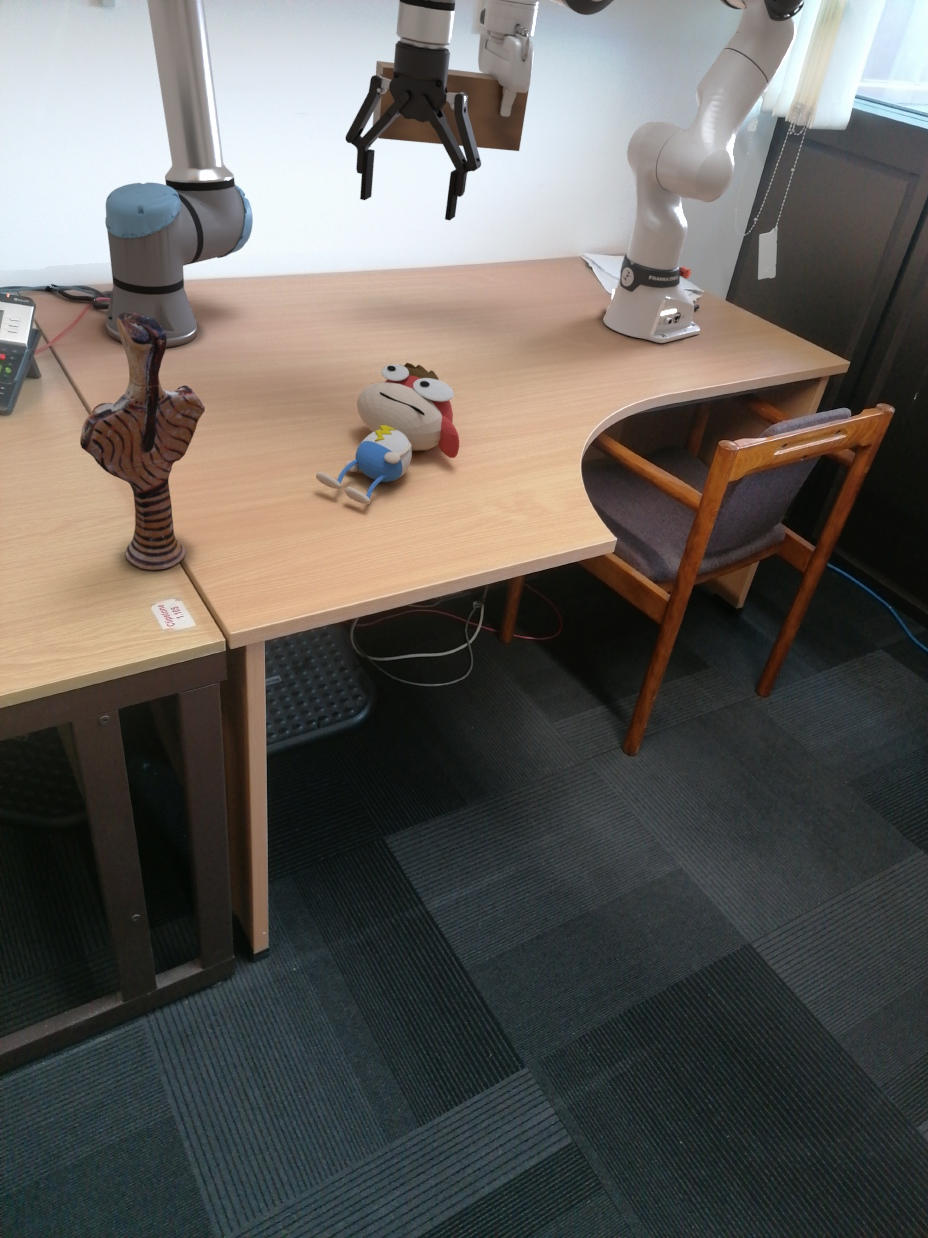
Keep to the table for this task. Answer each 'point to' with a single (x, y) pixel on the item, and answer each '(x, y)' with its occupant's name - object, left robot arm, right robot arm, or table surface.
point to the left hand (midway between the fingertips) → (407, 208)
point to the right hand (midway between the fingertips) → (498, 110)
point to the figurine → (145, 440)
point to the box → (480, 108)
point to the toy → (399, 425)
